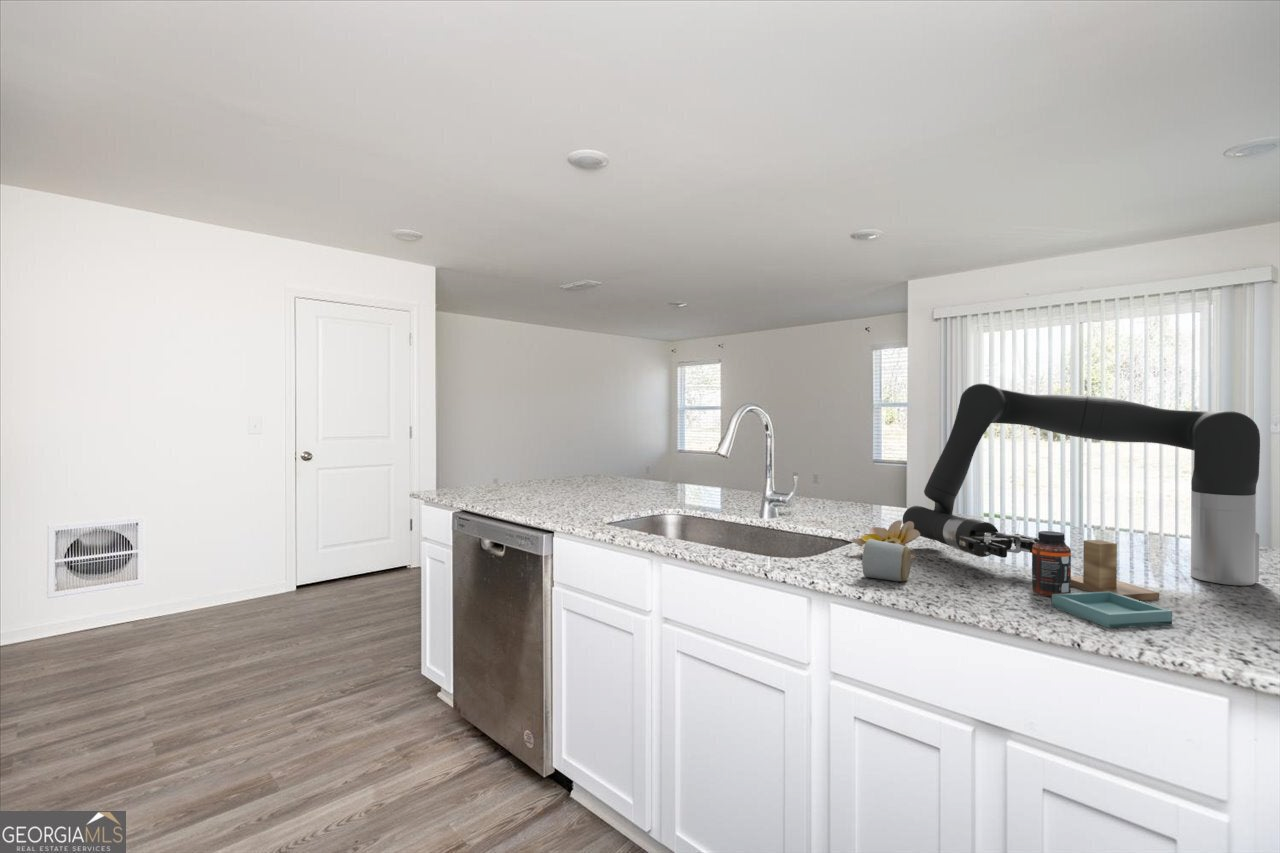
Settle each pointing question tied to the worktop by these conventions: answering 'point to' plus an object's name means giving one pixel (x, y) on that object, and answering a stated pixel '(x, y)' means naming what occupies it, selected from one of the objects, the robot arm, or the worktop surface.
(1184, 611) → the worktop surface
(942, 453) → the robot arm
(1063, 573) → the supplement bottle
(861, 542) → the decorative flower
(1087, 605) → the tray
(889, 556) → the ceramic mug
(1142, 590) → the wooden stand
